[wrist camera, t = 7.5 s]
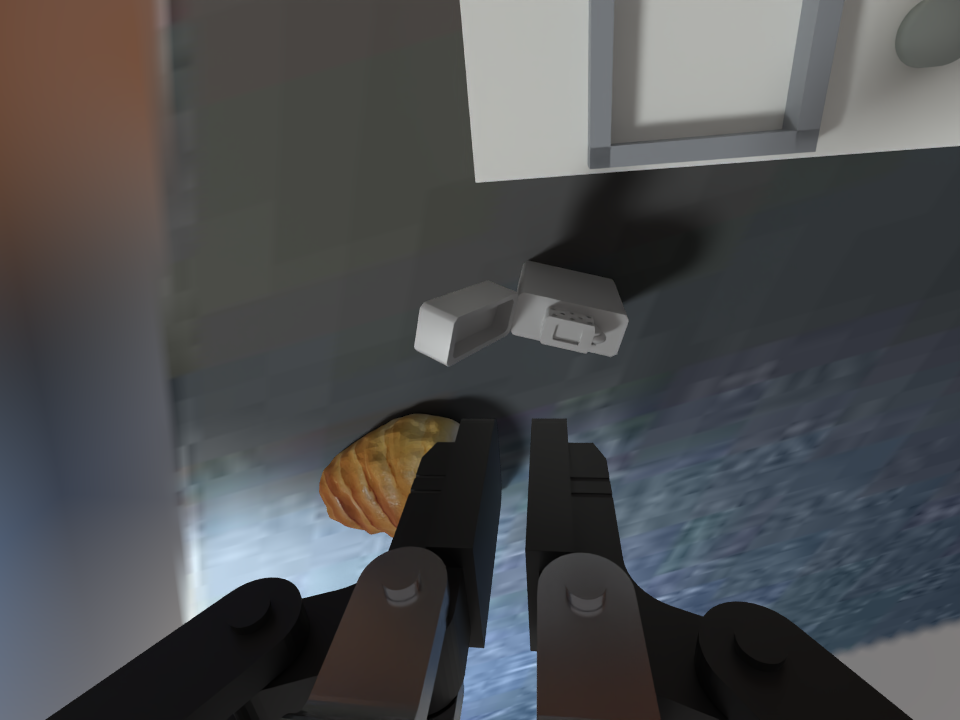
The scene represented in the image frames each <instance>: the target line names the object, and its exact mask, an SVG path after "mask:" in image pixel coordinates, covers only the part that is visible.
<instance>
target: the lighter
mask: <svg viewBox="0 0 960 720" xmlns="http://www.w3.org/2000/svg"><path fill="white" fill-rule="evenodd" d="M628 321H629V320H628V317H627V314H626V312H625V309H624V306H623V304H622V301H621V298H620V296H619V293H618V290H617V288H616V285H615V283H614V281H613V280H612V279H609V278H604V277H600V276H596V275H591V274H587V273H582V272H578V271H573V270H569V269H564V268H560V267H555V266H551V265H546V264H542V263H537V262H533V261H526V262H525V263H523V266H522V270H521V275H520V279H519V283H518V287H517V292H515V291H513V290H510V289H508V288H505V287H503V286H500V285H498V284H495V283H493V282H490V281H488V280H487V281H484V282H481V283H478V284H475V285H472V286H470V287H467V288H464V289H461V290H458V291H455V292H452V293H449V294H446V295H444V296H441V297H438V298H435V299H432V300H429V301H426V302H424V303H423V305H422V306H421V308H420V311H419V318H418V325H417V332H416V339H415V346H414V348H415V349H416V350H417V351H419V352H421V353H423V354H425V355H427V356H429V357H431V358H433V359H435V360H437V361H439V362H441V363H443V364H445V365H447V366H451V365H453V364H455V363H457V362H459V361H460V360H462V359H464V358H466V357H468V356H470V355H471V354H473V353H475V352H477V351H479V350H481V349H482V348H484V347H486V346H488V345H490V344H492V343H494V342H495V341H497V340H499V339H501V338H503V337H505V336H506V335H508V333H509V331H510V330H511V332H512V333H513V335H517V336H522V337H526V338H530V339H535V340H539V341H540V342H541V344H546V345H550V346H555V347H559V348H564V349H568V350H572V351H577V352H581V353H587V352H592V353H597V354H601V355H606V356H610V357H611V356H613V355H615V354H617V352H618V349H619V347H620V344H621V341H622V338H623V335H624V333H625V330H626V327H627V324H628Z"/></svg>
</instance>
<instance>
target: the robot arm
mask: <svg viewBox="0 0 960 720" xmlns="http://www.w3.org/2000/svg"><path fill="white" fill-rule="evenodd" d="M410 490H411V492H410V493H409V495H408V498H407V501H406V503H405V506H404V509H403V512H402V515H401V517H400V520H399V523H398V526H397V529H396V531H395V534H394V537H393V540H392V543H391V545H390V548H389V551H388V552H385V553H383V554H382V555H380V556H378V557H377V558H375V559H374V560H373V561H371V562H370V563H369V564H368V565H367V566H366V568H365V569H364V570H363V572H362V573H361V575H360V577H359V579H358V581H357V583H356V584H353V585H351V586H349V587H346V588H343V589H339V590H336V591H331V592H327V593H323V594H319V595H315V596H311V597H307V598H301V595H300V592H299V590H298V589H297V587H296V586H295V585H294V584H293V583H291V582H290V581H288V580H285V579H281V578H262V579H258V580H254V581H252V582H249V583H246V584H244V585H242V586H240V587H238V588H237V589H235V590H233V591H232V592H230V593H229V594H227V595H226V596H224V597H223V598H221V599H220V600H219V601H217V602H216V603H214V604H213V605H211V606H210V607H208V608H207V609H205V610H204V611H203V612H201V613H200V614H198V615H197V616H195V617H194V618H192V619H191V620H190V621H188V622H187V623H185V624H184V625H182V626H181V627H179V628H178V629H177V630H175V631H174V632H172V633H171V634H169V635H168V636H166V637H165V638H163V639H162V640H160V641H159V642H158V643H156V644H155V645H153V646H152V647H150V648H149V649H148V650H146V651H145V652H143V653H142V654H140V655H139V656H137V657H136V658H134V659H133V660H131V661H130V662H129V663H127V664H126V665H124V666H123V667H122V668H120V669H118V670H117V671H116V672H114V673H113V674H111V675H110V676H109V677H107V678H105V679H104V680H103V681H101V682H100V683H98V684H97V685H96V686H94V687H92V688H91V689H89V690H88V691H86V692H85V693H84V694H82V695H81V696H79V697H78V698H76V699H75V700H73V701H72V702H70V703H69V704H68V705H66V706H65V707H63V708H62V709H61V710H59V711H57V712H56V713H55V714H53V715H52V716H50V717H49V718H47V719H46V720H460V716H461V709H462V703H463V697H464V683H463V680H464V676H465V669H466V662H467V655H468V648H469V647H476V648H484V645H485V636H486V628H487V619H488V611H489V602H490V594H491V585H492V577H493V568H494V559H495V551H496V542H497V534H498V525H499V517H500V508H501V467H500V454H499V440H498V427H497V421H496V419H461V422H460V425H459V429H458V432H457V436H456V440H455V442H437V443H436V444H435V445H434V446H433V447H432V448H431V449H430V450H429V451H428V452H427V453H426V454H425V455H424V456H423V457H422V459H421V461H420V464H419V467H418V470H417V473H416V478H414V481H413V484H412V487H411V489H410ZM525 553H526V572H527V592H528V611H529V630H530V649H531V651H537V720H913V719H912V718H910V717H909V716H908V715H907V714H905V713H904V712H903V711H902V710H900V709H899V708H898V707H897V706H896V705H894V704H893V703H892V702H890V701H889V700H888V699H887V698H886V697H884V696H883V695H882V694H881V693H879V692H878V691H877V690H876V689H874V688H873V687H872V686H871V685H869V684H868V683H867V682H866V681H865V680H863V679H862V678H861V677H860V676H858V675H857V674H856V673H855V672H853V671H852V670H851V669H849V668H848V667H847V666H846V665H844V664H843V663H842V662H841V661H839V660H838V659H837V658H836V657H835V656H834V655H832V654H831V653H830V652H829V651H827V650H826V649H825V648H824V647H822V646H821V645H820V644H819V643H817V642H816V641H815V640H814V639H812V638H811V637H810V636H809V635H807V634H806V633H805V632H804V631H803V630H801V629H800V628H799V627H798V626H796V625H795V624H794V623H792V622H791V621H790V620H788V619H787V618H785V617H784V616H782V615H780V614H779V613H777V612H775V611H773V610H771V609H768V608H766V607H763V606H760V605H757V604H753V603H748V602H736V601H735V602H726V603H723V604H719V605H717V606H715V607H713V608H711V609H710V610H709V611H708V612H707V613H706V614H705V615H704V617H703V616H700V615H697V614H694V613H691V612H688V611H685V610H682V609H679V608H676V607H673V606H670V605H667V604H665V603H662V602H661V601H659V600H657V599H655V598H653V597H652V596H650V595H649V594H647V593H646V592H645V591H644V590H642V589H641V588H640V587H639V586H638V585H637V584H636V583H635V582H634V581H633V579H632V578H631V576H630V575H629V573H628V572H627V569H626V567H625V565H624V561H623V556H622V550H621V544H620V538H619V532H618V526H617V520H616V514H615V508H614V502H613V498H612V490H611V484H610V481H609V472H608V466H607V460H606V458H605V457H604V456H603V454H602V453H601V452H600V451H599V450H598V448H597V447H596V446H595V445H594V443H568V434H567V419H532V426H531V446H530V467H529V487H528V507H527V527H526V547H525Z"/></svg>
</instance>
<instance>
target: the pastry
mask: <svg viewBox="0 0 960 720" xmlns="http://www.w3.org/2000/svg"><path fill="white" fill-rule="evenodd" d="M459 425H460V424H459V423H457V422H456V421H454V420H452V419H449V418H444V417H439V416H433V415H428V414H411V415H407V416H404V417H401V418H397V419H393V420H391V421H390V422H388V423H387V424H385V425H382V426H380V427H379V428H377V429H376V430H374V431H372V432H370V433H368V434H367V435H365V436H364V437H362V438H361V439H359V440H358V441H356V442H355V443H354V444H352V445H351V446H349V447H348V448H346V449H345V450H343V451H342V452H340V453H339V454H338V455H337V456H335V457H334V459H333V460H332V461H331V463H330V464H329V465H328V466H327V467H326V468H325V469H324V471H323V473H322V477H321V480H320V486H319V493H320V495H321V498H322V499H323V501H324V503H325V505H326V507H327V512H328V515H329V517H330V518H331V519H333V520H335V521H338V522H340V523H342V524H343V525H345V526H347V527H350V528H355V529H361V530H365V531H367V532H368V533H369V534H376V533H380V532H385V533H387V534H388V535H389V536H390V537H394V534H395V531H396V529H397V526H398V523H399V520H400V517H401V515H402V512H403V509H404V506H405V503H406V501H407V498H408V495H409V493H410V492H411V490H410V489H411V487H412V484H413V481H414V478H416V473H417V470H418V467H419V464H420V461H421V459H422V457H423V456H424V455H425V454H426V453H427V452H428V451H429V450H430V449H431V448H432V447H433V446H434V445H435V444H436V443H437V442H455V440H456V436H457V432H458V429H459Z"/></svg>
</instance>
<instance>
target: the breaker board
mask: <svg viewBox="0 0 960 720" xmlns="http://www.w3.org/2000/svg"><path fill="white" fill-rule="evenodd" d="M460 7H461V18H462V30H463V42H464V53H465V65H466V76H467V88H468V100H469V111H470V123H471V134H472V146H473V158H474V169H475V181H476V183H478V182H491V181H504V180H517V179H530V178H543V177H556V176H569V175H582V174H595V173H608V172H621V171H635V170H648V169H661V168H674V167H687V166H700V165H713V164H726V163H739V162H752V161H765V160H778V159H792V158H805V157H818V156H831V155H844V154H857V153H870V152H883V151H896V150H909V149H922V148H935V147H949V146H960V0H460Z"/></svg>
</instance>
